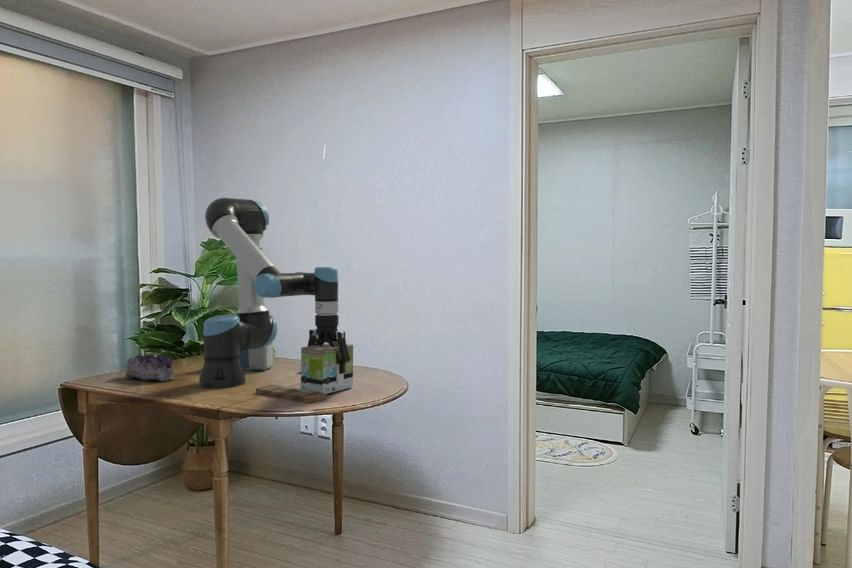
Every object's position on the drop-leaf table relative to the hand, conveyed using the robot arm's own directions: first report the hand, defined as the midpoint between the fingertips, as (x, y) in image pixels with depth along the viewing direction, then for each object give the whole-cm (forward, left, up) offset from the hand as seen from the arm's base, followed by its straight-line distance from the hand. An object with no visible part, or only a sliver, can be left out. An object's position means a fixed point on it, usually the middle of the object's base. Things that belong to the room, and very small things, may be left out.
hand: (327, 381), depth 195 cm
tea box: (0, 0, -3) cm, 3 cm away
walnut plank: (-5, -12, -3) cm, 13 cm away
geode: (-66, -20, -3) cm, 69 cm away
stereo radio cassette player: (-53, +11, -3) cm, 54 cm away
